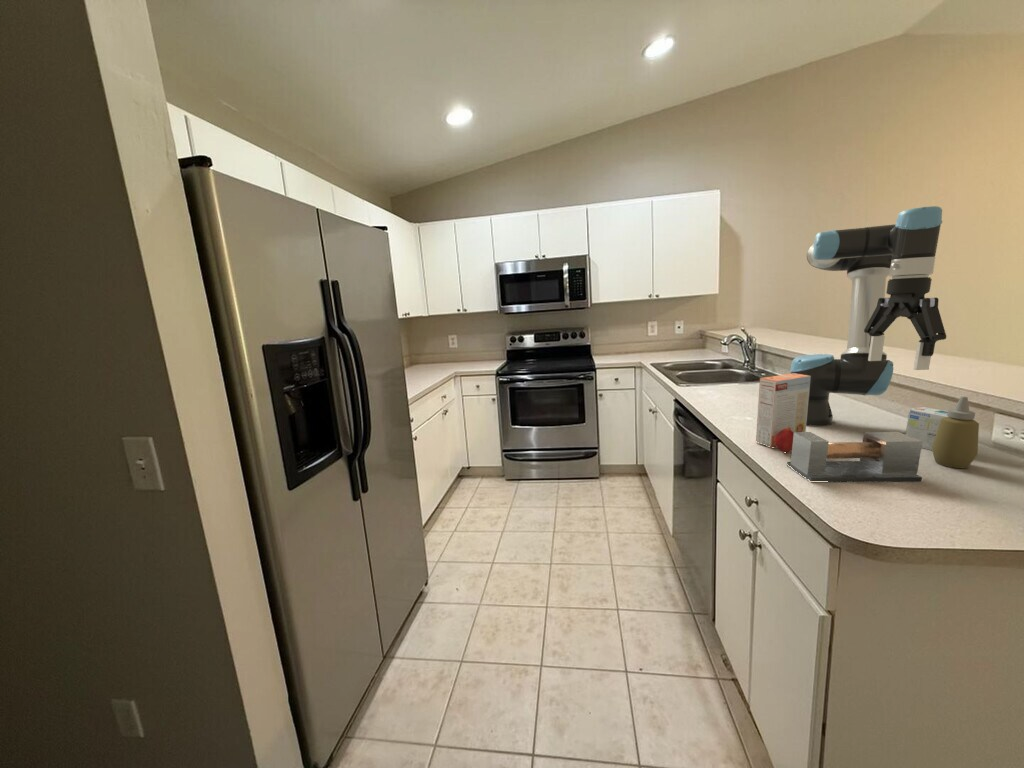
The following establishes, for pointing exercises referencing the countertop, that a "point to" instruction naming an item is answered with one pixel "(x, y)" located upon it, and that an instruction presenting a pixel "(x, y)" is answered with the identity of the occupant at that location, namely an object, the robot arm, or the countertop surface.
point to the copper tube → (853, 450)
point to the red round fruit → (784, 440)
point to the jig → (892, 465)
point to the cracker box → (782, 405)
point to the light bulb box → (924, 424)
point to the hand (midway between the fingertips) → (896, 365)
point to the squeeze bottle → (957, 437)
